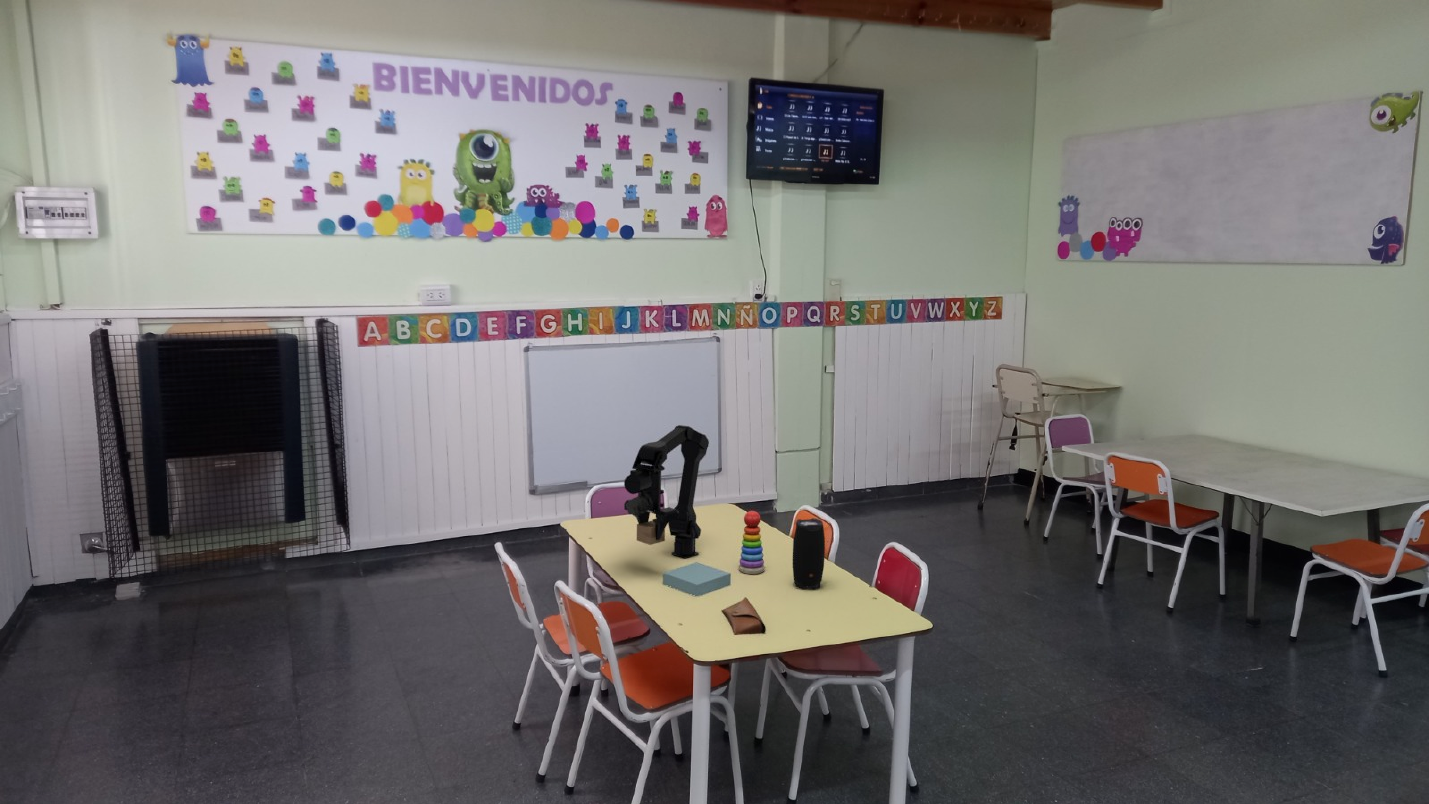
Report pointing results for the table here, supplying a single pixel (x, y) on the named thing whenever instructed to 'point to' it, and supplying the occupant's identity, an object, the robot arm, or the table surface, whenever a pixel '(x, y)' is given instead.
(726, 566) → the table surface
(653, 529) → the walnut block
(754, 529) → the stacking toy
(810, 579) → the portable speaker
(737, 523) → the table surface
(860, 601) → the table surface
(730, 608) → the sunglasses case
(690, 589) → the teal base box
